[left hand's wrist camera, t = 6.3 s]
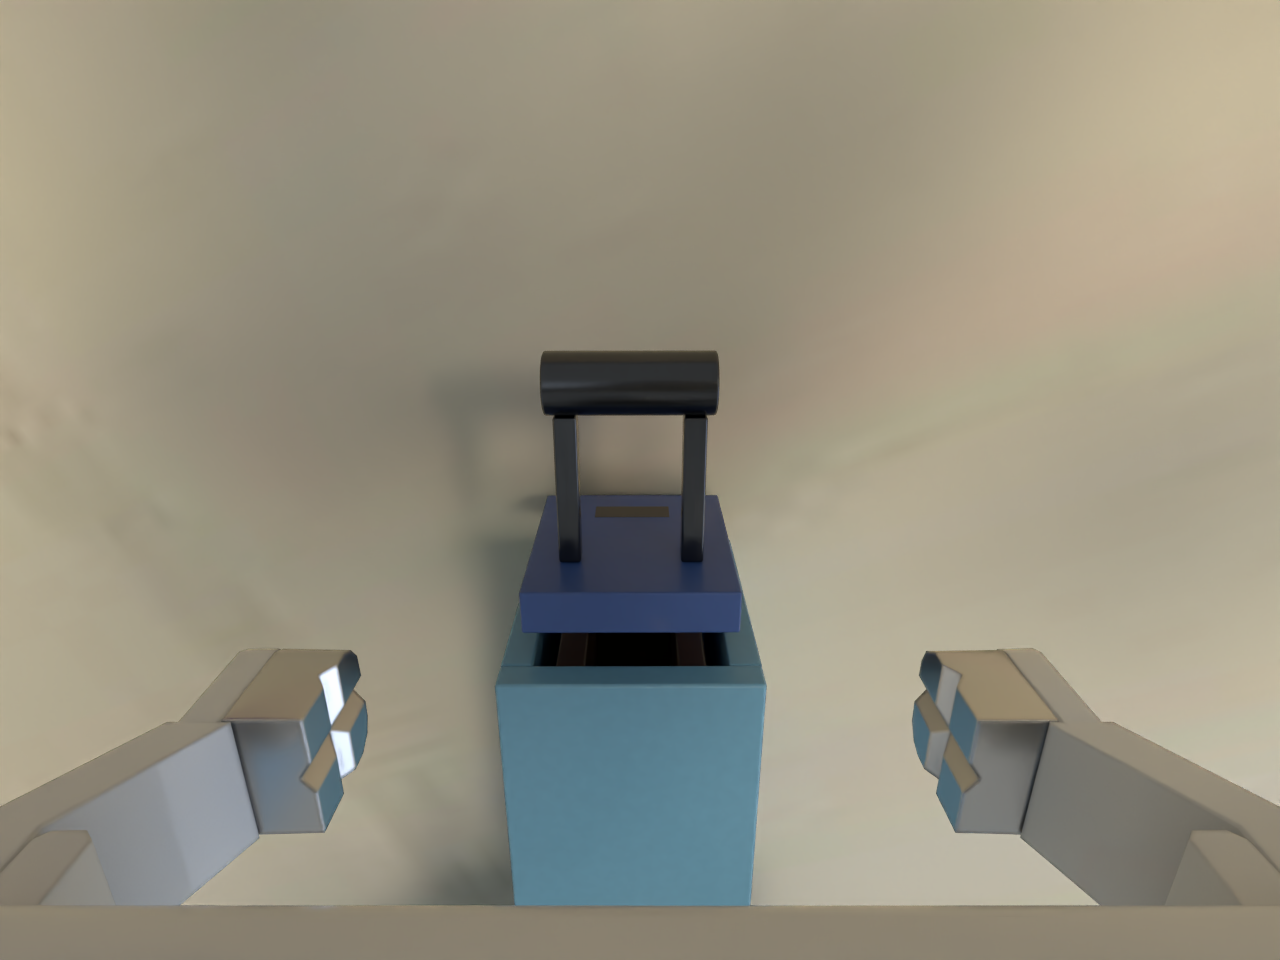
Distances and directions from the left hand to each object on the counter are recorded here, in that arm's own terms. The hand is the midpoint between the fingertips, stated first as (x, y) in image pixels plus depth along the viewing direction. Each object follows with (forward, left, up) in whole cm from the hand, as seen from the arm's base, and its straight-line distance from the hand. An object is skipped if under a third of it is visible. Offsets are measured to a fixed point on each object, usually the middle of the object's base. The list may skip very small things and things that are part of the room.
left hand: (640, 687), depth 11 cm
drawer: (+10, -1, -14) cm, 17 cm away
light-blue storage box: (+15, -1, -15) cm, 21 cm away
